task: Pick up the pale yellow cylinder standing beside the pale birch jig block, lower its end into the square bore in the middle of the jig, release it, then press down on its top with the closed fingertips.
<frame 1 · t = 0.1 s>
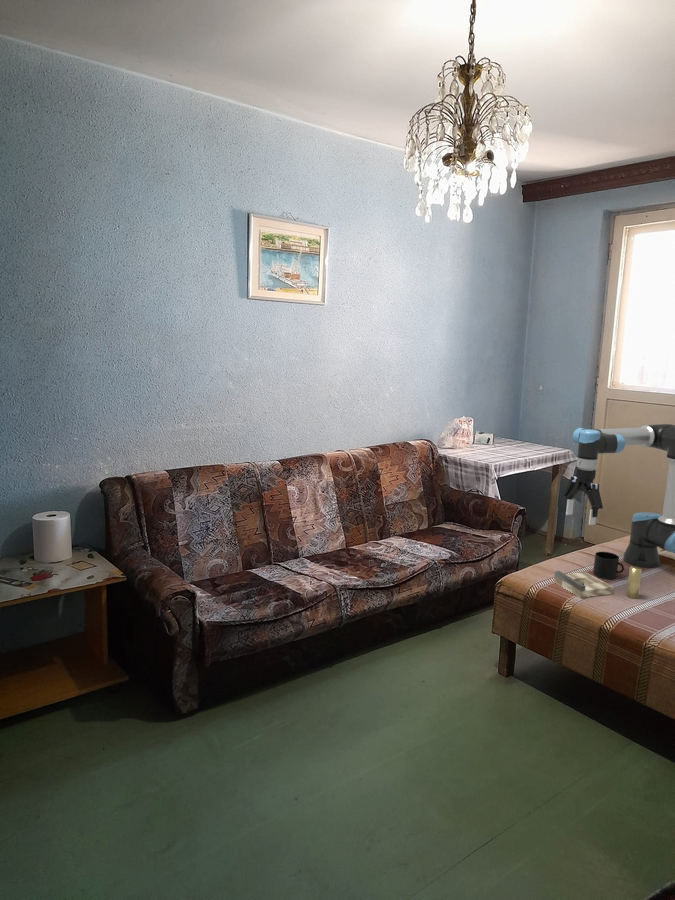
hand: (580, 519, 258), 28 cm above the table, fingers open, 13 cm apart
mug: (607, 576, 274), on the table
pale yellow cylinder: (632, 596, 253), on the table
jig: (582, 588, 260), on the table
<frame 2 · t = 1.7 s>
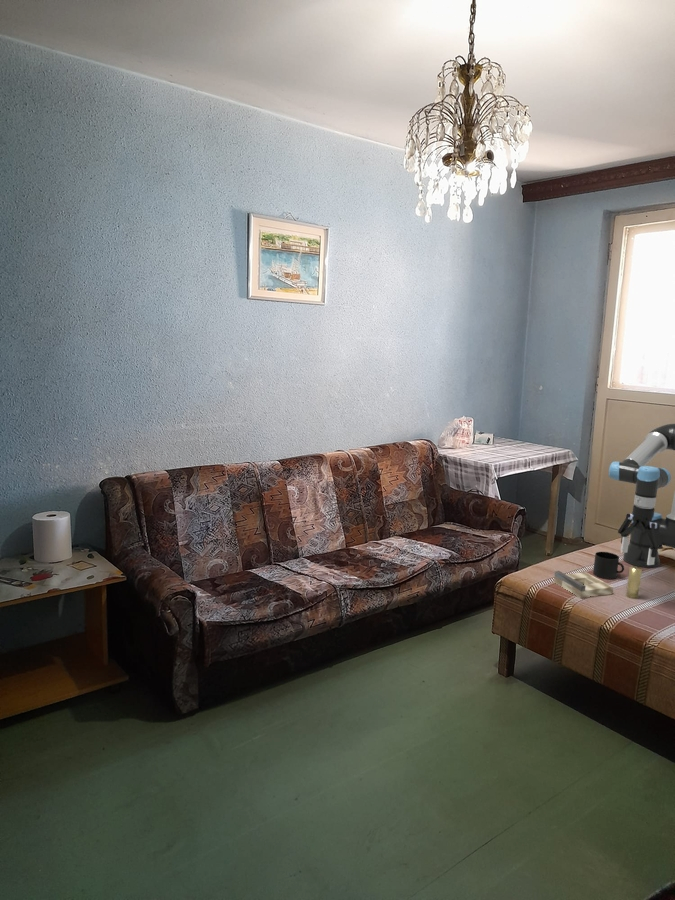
hand: (636, 558, 250), 16 cm above the table, fingers open, 13 cm apart
nothing on the table moved.
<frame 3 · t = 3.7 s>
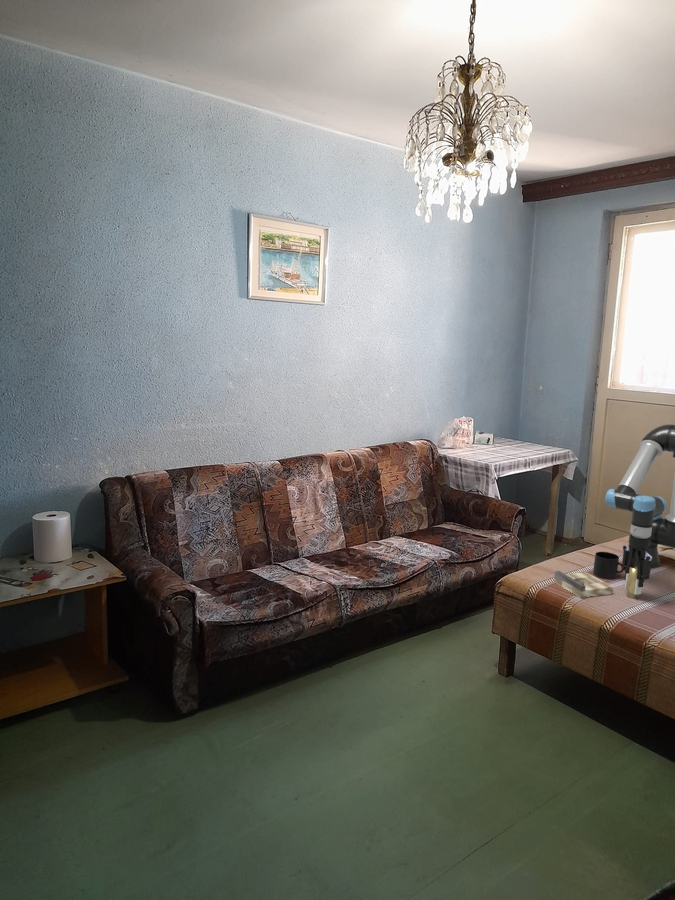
hand: (632, 591, 253), 2 cm above the table, fingers closed on pale yellow cylinder, 4 cm apart
pale yellow cylinder: (631, 596, 253), on the table, touching gripper
everything else where it was.
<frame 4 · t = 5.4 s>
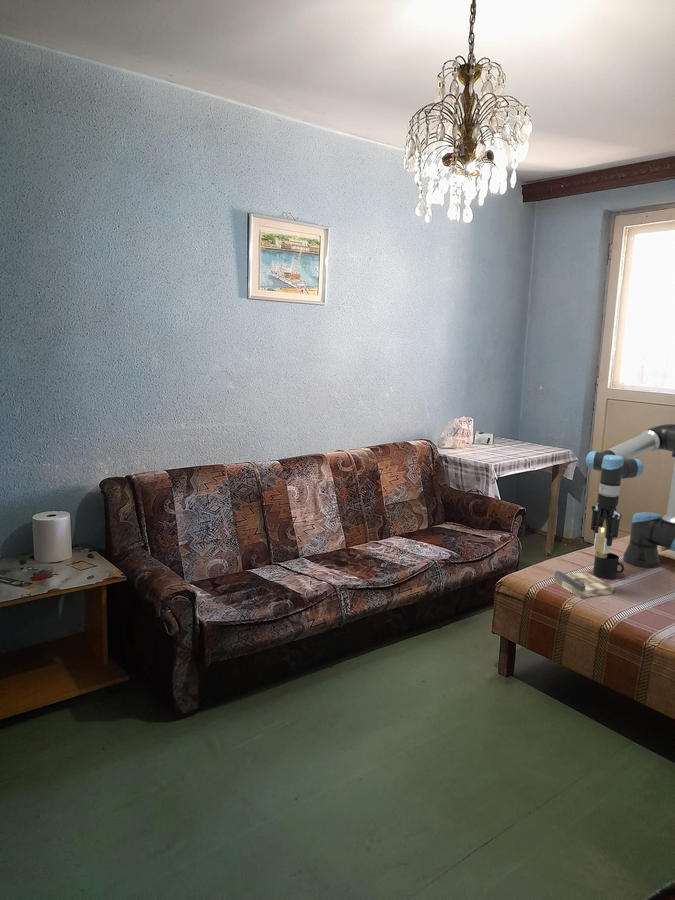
hand: (601, 550, 254), 17 cm above the table, fingers closed on pale yellow cylinder, 4 cm apart
pale yellow cylinder: (600, 556, 255), point 15 cm above the table, touching gripper
everything else where it was.
when the fingers open (4 cm above the table, at t = 7.4 s): pale yellow cylinder drops 2 cm, resting in jig.
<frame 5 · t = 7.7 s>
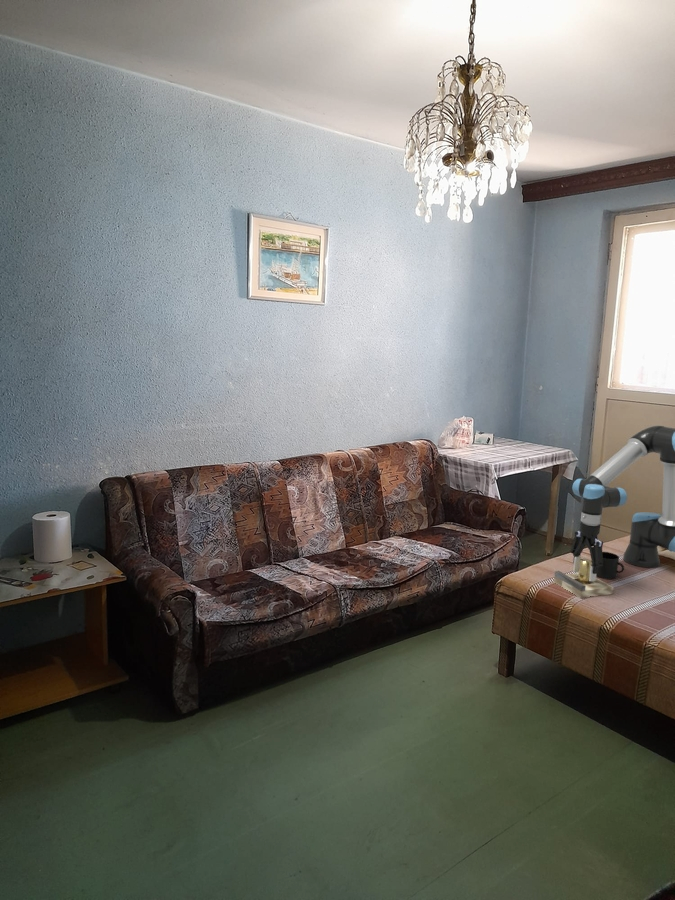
hand: (584, 576, 259), 5 cm above the table, fingers open, 9 cm apart
pale yellow cylinder: (582, 588, 260), resting in jig
everything else where it was.
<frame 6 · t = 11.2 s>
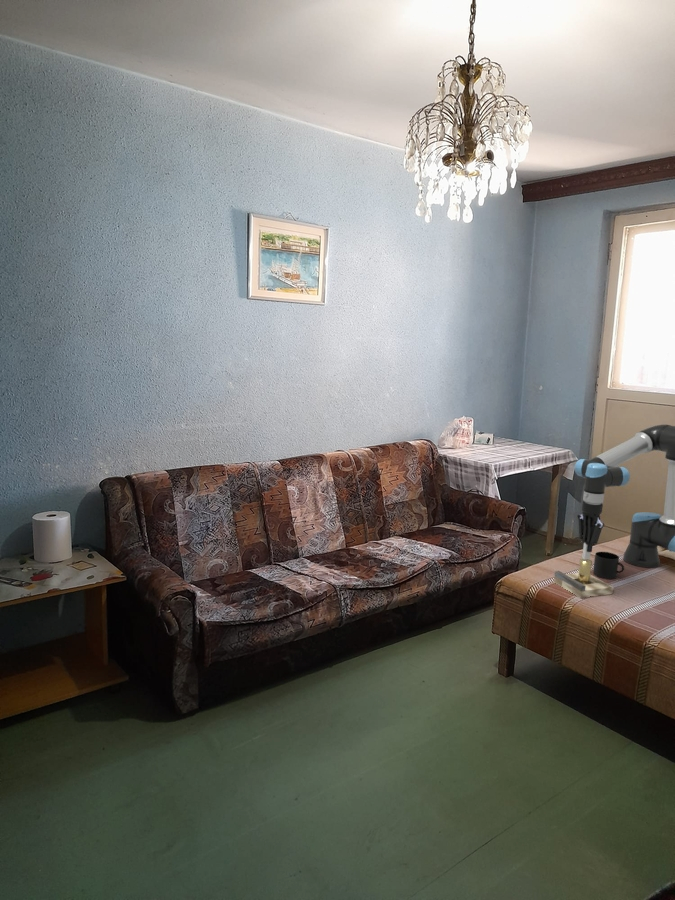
hand: (586, 558, 257), 13 cm above the table, fingers closed
nothing on the table moved.
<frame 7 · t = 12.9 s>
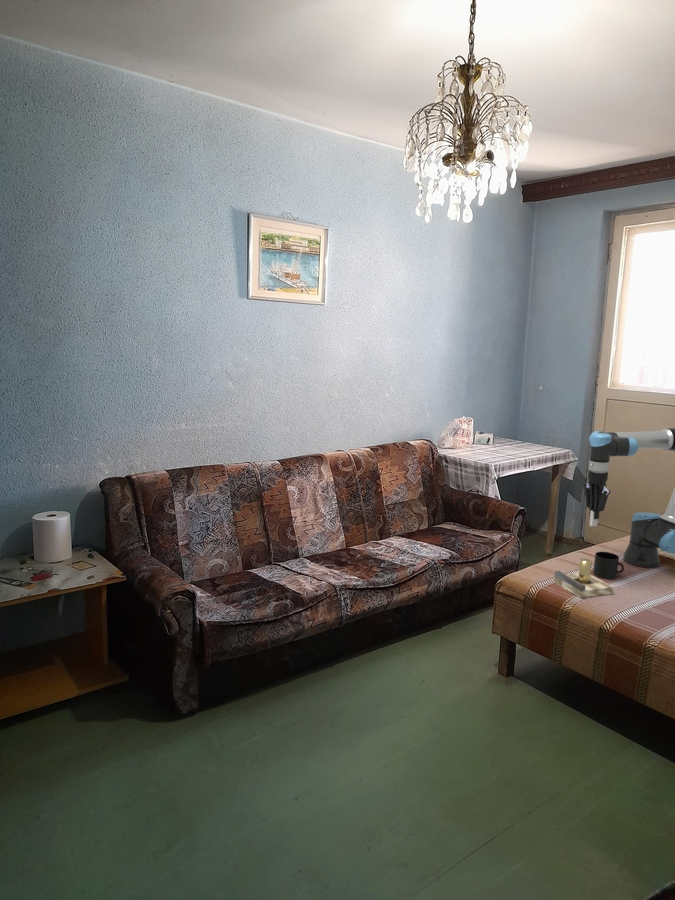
hand: (593, 525, 267), 23 cm above the table, fingers closed
nothing on the table moved.
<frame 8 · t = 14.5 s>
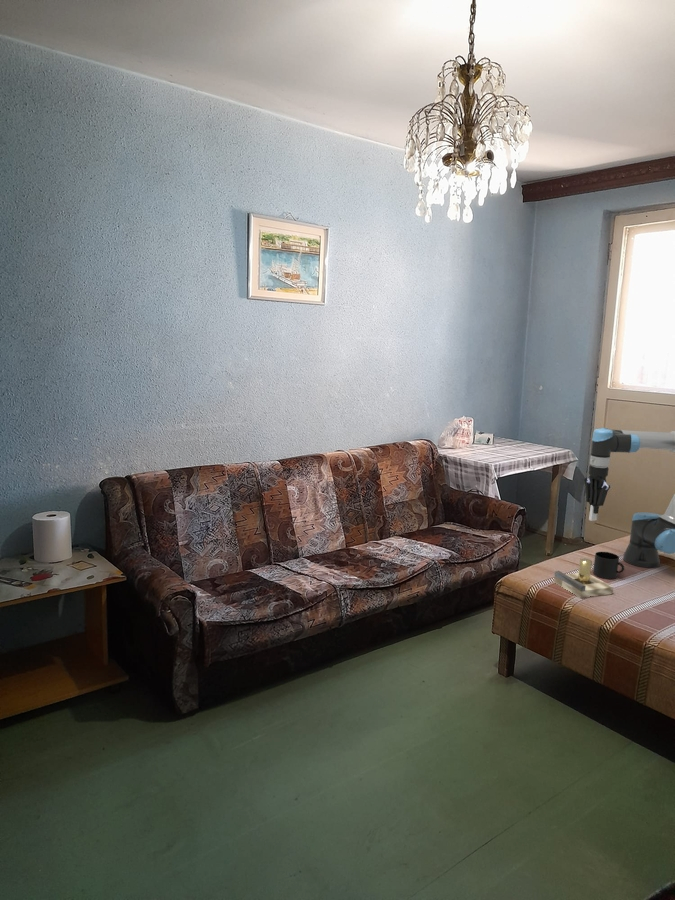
hand: (592, 520, 270), 24 cm above the table, fingers closed
nothing on the table moved.
at the end: pale yellow cylinder 0.1 cm off-centre on the jig, point 0.0 cm above the jig's base; pale yellow cylinder tilted 0°; the gripper is holding nothing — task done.
